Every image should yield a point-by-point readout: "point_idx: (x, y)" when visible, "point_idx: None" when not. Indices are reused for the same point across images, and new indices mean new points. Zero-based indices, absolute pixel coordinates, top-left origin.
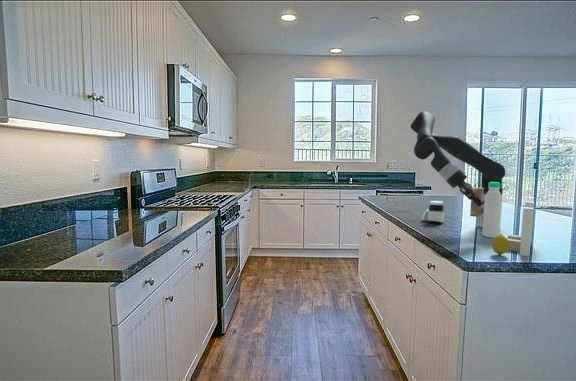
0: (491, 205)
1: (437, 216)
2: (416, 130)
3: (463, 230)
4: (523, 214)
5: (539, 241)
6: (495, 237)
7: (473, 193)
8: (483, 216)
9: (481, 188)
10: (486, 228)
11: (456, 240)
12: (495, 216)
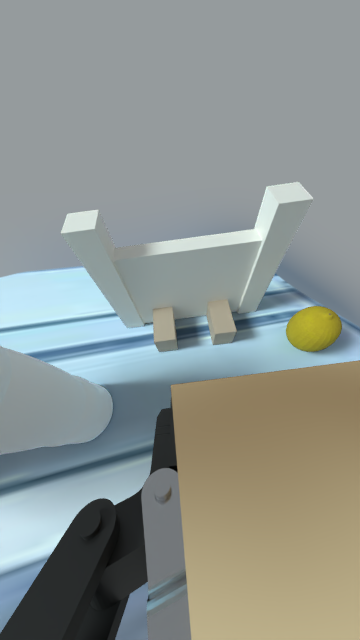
0: (30, 394)
1: None
2: None
3: (15, 550)
4: (299, 223)
5: (90, 305)
6: (338, 330)
7: None
8: (41, 446)
9: (353, 384)
10: (95, 421)
11: None
12: (71, 382)
